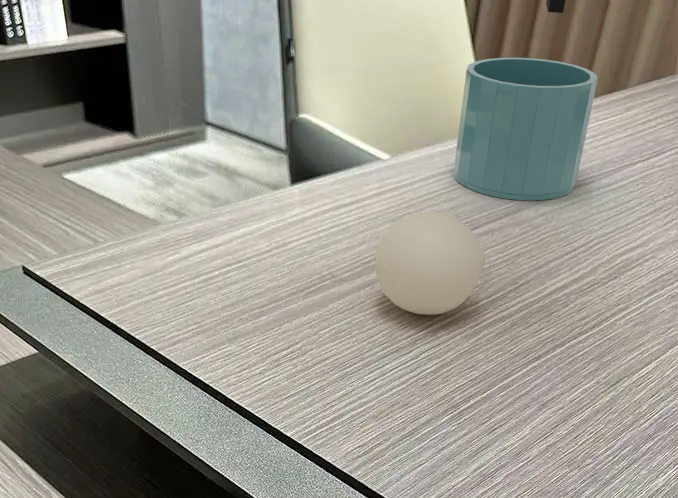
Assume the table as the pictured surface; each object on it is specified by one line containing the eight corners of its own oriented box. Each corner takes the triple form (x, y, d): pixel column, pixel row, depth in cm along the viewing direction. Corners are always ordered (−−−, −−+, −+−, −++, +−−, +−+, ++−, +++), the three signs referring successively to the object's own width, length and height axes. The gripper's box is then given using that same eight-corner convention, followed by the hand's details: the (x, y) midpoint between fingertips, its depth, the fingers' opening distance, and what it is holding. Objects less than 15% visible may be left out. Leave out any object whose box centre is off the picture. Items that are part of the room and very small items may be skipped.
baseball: (500, 314, 55) (515, 222, 52) (416, 342, 52) (427, 246, 48) (433, 274, 60) (444, 188, 56) (353, 298, 56) (359, 208, 53)
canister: (552, 159, 83) (572, 58, 78) (592, 200, 73) (617, 88, 68) (443, 159, 82) (455, 57, 77) (468, 200, 73) (484, 87, 68)
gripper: (168, -548, 34) (190, 0, 44) (835, -602, 29) (679, 27, 40) (221, -485, 40) (230, -19, 51) (776, -521, 35) (655, 2, 46)
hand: (427, 2), depth 45 cm, fingers open, 13 cm apart
